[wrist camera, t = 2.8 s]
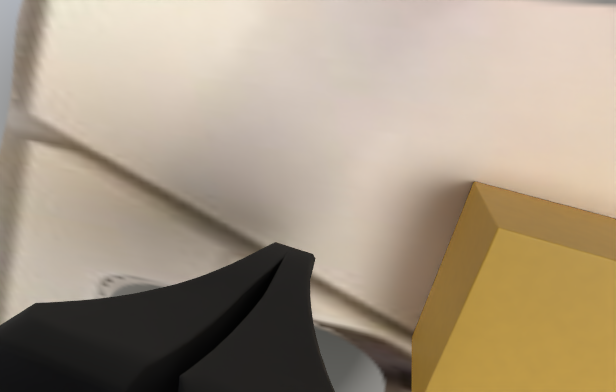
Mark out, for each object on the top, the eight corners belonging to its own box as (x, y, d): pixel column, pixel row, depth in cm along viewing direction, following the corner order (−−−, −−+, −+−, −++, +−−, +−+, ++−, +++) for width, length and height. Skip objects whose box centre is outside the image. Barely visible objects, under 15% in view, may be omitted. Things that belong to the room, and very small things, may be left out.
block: (593, 399, 14) (655, 514, 11) (411, 337, 16) (411, 421, 12) (702, 241, 12) (833, 322, 8) (473, 180, 13) (498, 227, 9)
